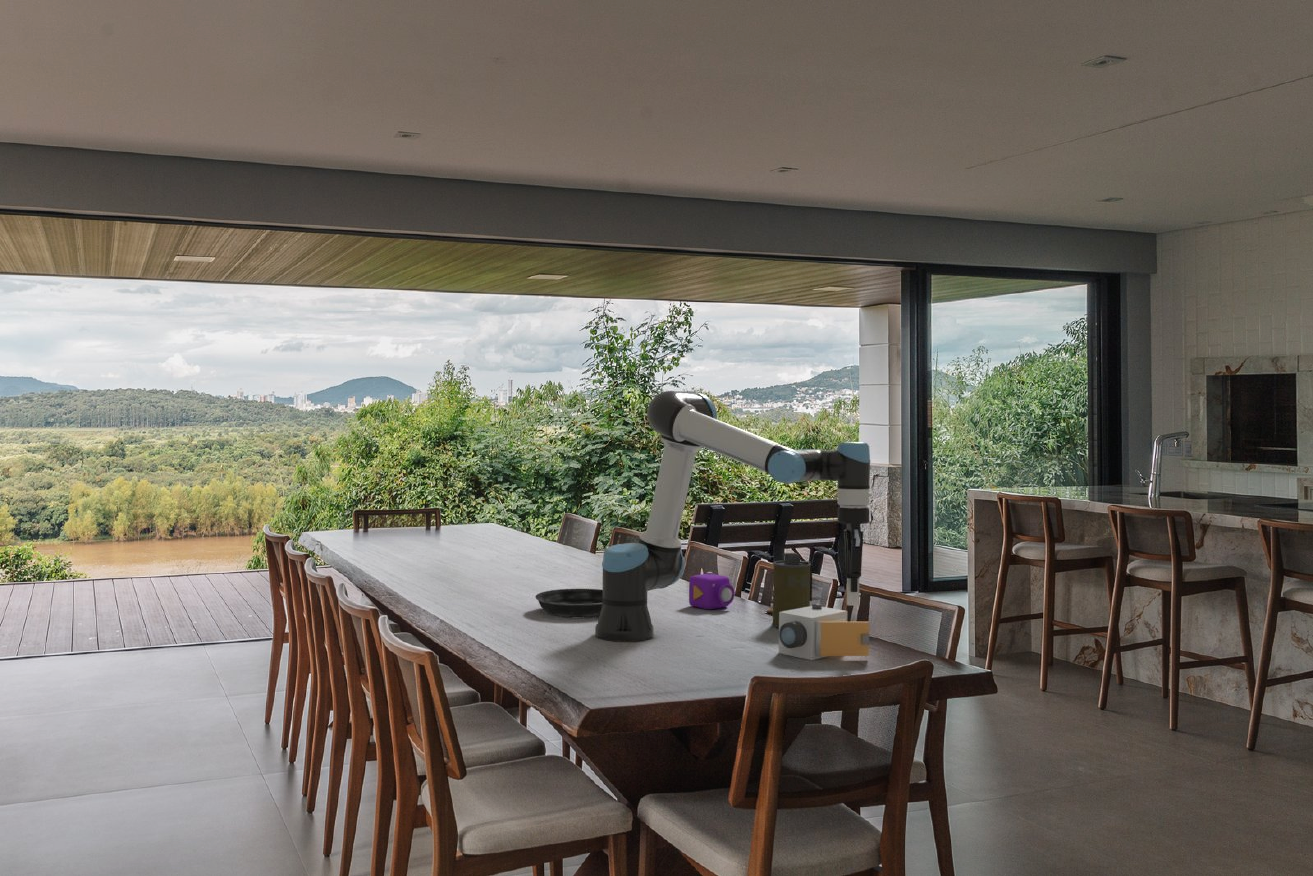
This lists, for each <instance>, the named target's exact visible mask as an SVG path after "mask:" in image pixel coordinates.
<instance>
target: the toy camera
mask: <svg viewBox="0 0 1313 876" xmlns="http://www.w3.org/2000/svg"><path fill="white" fill-rule="evenodd" d="M688 582H689V583H688V601H689V602H688V603H689V605H690V607H694V608H699V609H703V610H709V609H710V610H718V609H722V607H723V608H727V607H728V606H729V605H731V604H732V602H733V601H734V598H735V588H734V587H733V585H731V583H730V578H729V577H728V576H725V575H721V574H715V573H713V572H712V571H707V572H706V573H704V574H694V575H692V576H690V577H689V581H688ZM726 606H727V607H726Z"/></svg>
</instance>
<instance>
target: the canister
mask: <svg viewBox="0 0 1313 876" xmlns="http://www.w3.org/2000/svg"><path fill="white" fill-rule="evenodd" d="M781 556H783V557H784V558H783V560H775V561H772V565H773V582H772V583H773V587H772V589H773V590H772V591H773V592H772V593H773V595H772V608H773V615H772V623H771V627H773V626H774V627H773V628H775V627H778V628H777V629H779V612H782V611H787V610H793V609H798V608H803V607H809V606H811V605H810V602H812V601H813V562H812V561H809V560H802V559H801V556H800V554H799V553H797V552H784V553H782V554H781Z"/></svg>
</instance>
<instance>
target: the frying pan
mask: <svg viewBox="0 0 1313 876" xmlns="http://www.w3.org/2000/svg"><path fill="white" fill-rule="evenodd" d="M602 594H603V589H599V588H598V589H597V588H562V589H561V588H560V589H553V590H546V591H541V592H539V593H537V594H536V595H535V599H536V600H537V601H538V604H539V606H540V607H541V609H543V611H545V612H546V613H548V614H549V615H552V616H555V615H556V616H557V617H560V616H561V617H563V618H572V617H584V618H593V617H595V616H596V617H599V616H600V612H601V609H602ZM561 617H560V618H561Z"/></svg>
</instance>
